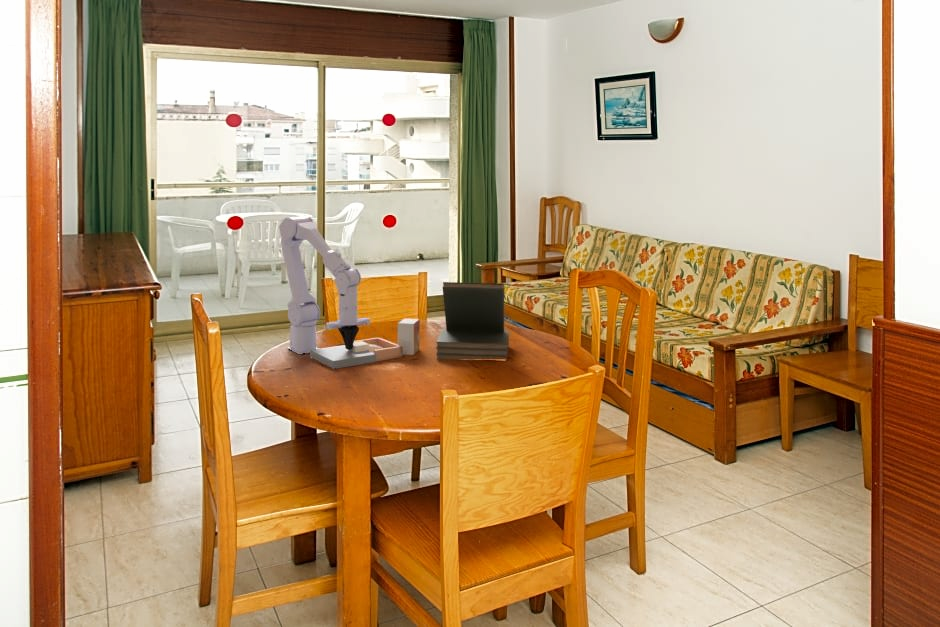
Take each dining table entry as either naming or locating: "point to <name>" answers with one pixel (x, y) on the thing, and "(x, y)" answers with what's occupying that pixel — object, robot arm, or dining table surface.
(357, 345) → the tile
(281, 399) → the dining table surface
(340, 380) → the dining table surface
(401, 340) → the small box
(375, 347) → the tile
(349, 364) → the board
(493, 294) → the open dark laptop
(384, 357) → the tray
